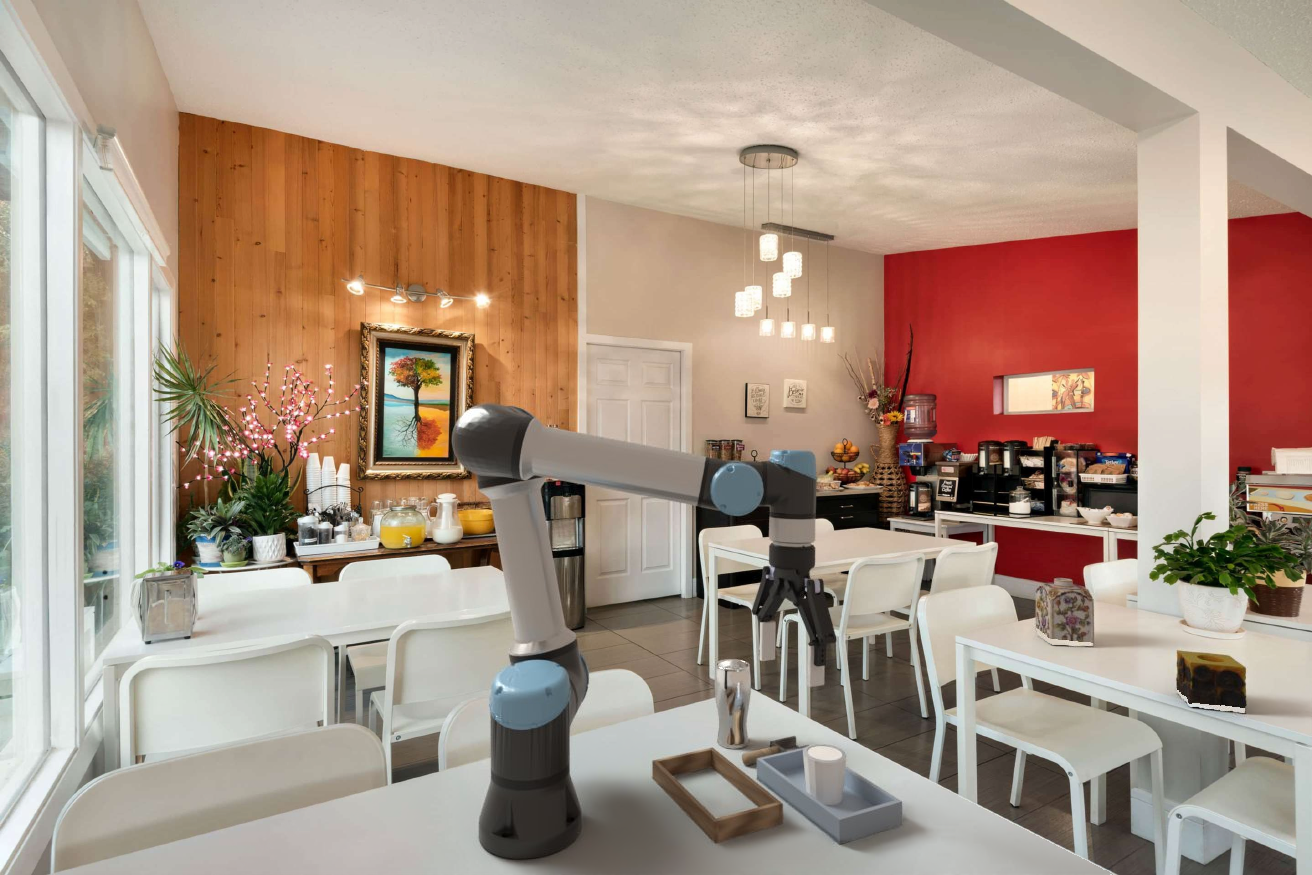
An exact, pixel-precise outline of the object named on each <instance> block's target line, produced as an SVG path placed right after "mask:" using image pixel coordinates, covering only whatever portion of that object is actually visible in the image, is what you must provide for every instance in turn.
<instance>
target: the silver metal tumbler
mask: <svg viewBox="0 0 1312 875" xmlns="http://www.w3.org/2000/svg"><path fill="white" fill-rule="evenodd" d="M714 668H715V670H714V697H715V703H716V709H717V716H718V723H719V724H718V731H717V736H716V737H717V739H716V742H717V744H718V745H719V746H720V747H722V748H724V747H725V748H726V749H728V748H729V750H739V749H744V748H747V746H749V745H750V744H749V743H750V739H749V734H748V726H747V723H748V714H749V709H750V702H751V694H752V693H751V692H752V684H751V682H752V681H751V680H752V678H751V670H750V669H751V668H750V663H749V662H747V661H745V660H742V659H737V658H729V659H728V658H726V659H721V660H718V661H716V662H715V667H714Z"/></svg>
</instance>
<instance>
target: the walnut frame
mask: <svg viewBox="0 0 1312 875" xmlns="http://www.w3.org/2000/svg"><path fill="white" fill-rule="evenodd" d="M651 761H652V763H651V765H652V768H651V770H652V772H651V773H652V776H651V777H652V778H651V779H653V780H654V781H655V782H656V784H657V785H658V786H659V787H660V788H661V789H662V790H663V791H664V792H665V793H666V794H667V795H668V796H669V797H670V798H671V799H672V800H673V801H674V803H676V804H677V806H678V807H680V809H681V810H682V811H684V813H685V814H686V815H687V816H688V817H689V818H690V819H691V820H692V821H693V822H694V823H695V824H696V826H698V827H699V829H701V830H702V831H703V832H704V834H705V835H707V837H708V838H709V839H710V840H711V842H713V843H714V844H715V843H719V842H723V841H726V840H729V839H733V838H738V837H739V836H740V837H741V836H744V835H747V834H751V833H754V832H758V831H762V830H765V829H767V828H772V827H775V826H779V825H782V824H784V804H783V802H782V801H780V800H779V799H778V798H777V797H776V796H774V795H773V794H772V793H771V792H769V791H768V790H766V789H765V788H764V787H763V786H762V785H760V784H759V783H758V782H756V781H755V780H754V779H753V778H752V777H750V776H749V775H748V774H747V773H745V772H744V771H743V770H742V769H741V768H739V767H738V766H737V765H736V764H734V763H733V762H731V761H730V760H729V759H728V758H726V757H725V756H724V755H723V754H721V753H720V752H719V751H718V750H717V749H716V748H714V747H708V748H704V749H700V750H694V751H691V752H686V753H681V754H677V755H672V756H666V757H662V758H658V759H653V760H651ZM707 768H711V769H713V770H715V771H716V772H717V773H718V774H719V775H720V776H721V777H722V778H723V779H725V780H726V781H728V782H729V783H730V785H732V786H733V787H734V788H736V790H738V791H739V792H740V793H741V794H743V795H744V796H745V797H746V798H747V799H749V801H751V802H752V803H753V804H755V806H756V807H754V808H751V809H750V808H749V809H747V810H744V811H743V810H742V811H739V812H735V813H731V814H728V815H723V816H721V817H717V818H716V816H714V814H712V813H711V812H710V811H709V810H708V809H707V808H706V807H705V806H704V805H703V804H702V803H701V802H700V801H699V800H698V799H697V798H696V797H695V796H694V795H693V794H692V793H691V792H690V791H689V790H688V789H687V788H686V787H685V786H684V785H682V783H681V782H680V781H678V780H677V779H676V778H675V777H674V776H676V775H682V774H686V773H689V772H690V773H691V772H694V771H698V770H702V769H707Z"/></svg>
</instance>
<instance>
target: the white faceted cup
mask: <svg viewBox="0 0 1312 875" xmlns="http://www.w3.org/2000/svg"><path fill="white" fill-rule="evenodd" d="M808 745H809V746H807V747H805V748H804V750H803V759H804V769H805V780H806V790H807V792H808V793H809V794H810V795H812V796H813V797H814V798H816V799H817V800H818V801H820V802H821V803H822V804H824V805H835V804H838V803H840V802H841V801H842V799H843V790H844V778H845V767H847V754H846V752H845V751H844V750H843V749H841V748H839V747H837V746H834V745H830V744H822V743H820V744H819V743H817V744H808Z"/></svg>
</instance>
